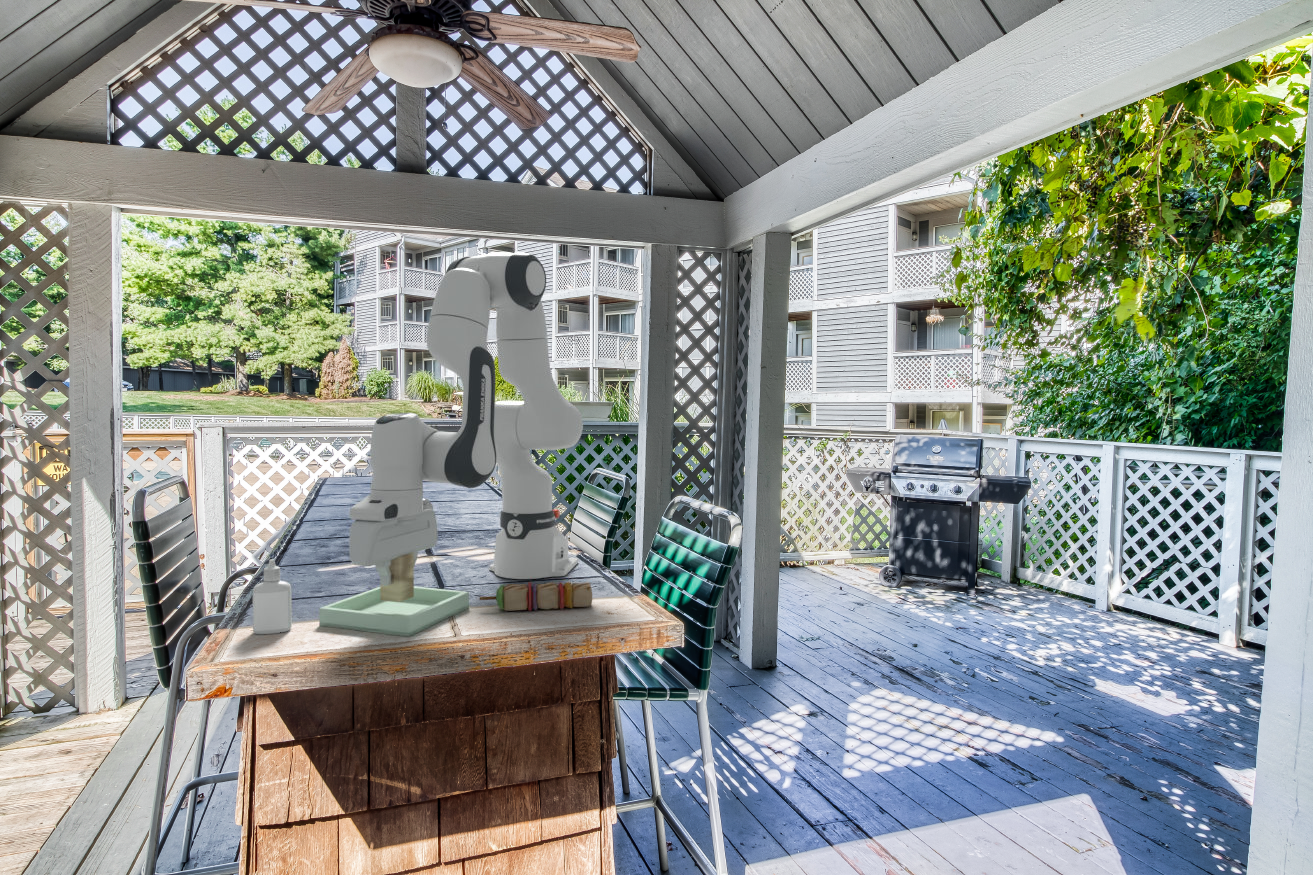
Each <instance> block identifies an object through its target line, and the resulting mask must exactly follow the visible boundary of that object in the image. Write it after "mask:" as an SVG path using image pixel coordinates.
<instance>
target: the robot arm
mask: <svg viewBox="0 0 1313 875" xmlns="http://www.w3.org/2000/svg"><path fill="white" fill-rule="evenodd" d="M546 285H547V274H546V270H545V267H544V266H543V263H542V262H541V261H540V260H539V258H538V257H537V256H536V255H534V254H531V253H527V252H521V251H516V252H514V253H513V252H490V253H488V254H479V255H475V256H463V257H461V258H457V259H455V260H453V261H452V262H451V263H450V264H449V265H448V267H447V269H446V271H445V274H444V275H443V276H442V279H441V281H440V283H439V285H438V288H437V291H436V293H435V296H434V299H433V303H432V306H431V311H430V316H429V321H428V326H427V330H426V348H427V349H428V352H429V353H430V355H431V356H432V358H433V359H434V360H435V361H436V363H437V364H439V365H440V366H441V367H443V368H444V369H447V370H449V371H450V372H453V373H454V374H455V375H457V376H458V377H459V378H460V380H461V383H462V390H463V391H462V413H461V414H462V416H461V426H460V428H459V429H458V431H443V430H438V429H436V428H434V427H432V426H430V425H429V424H426V423H425V422H424V421H423V420H422V419H421V418H420V416H419V414H417V413H414V412H399V413H389V414H386V415H383V416H380V417H379V418H377V419H376V420H375V421H374V424H373V427H372V432H371V438H370V453H369V454H370V455H369V456H370V467H371V470H372V480H371V483H370V494H368V495H367V496H365V497H364V498H363V499H362V500H360V501H359V502H357V503H356V504H354V505H353V506H351V507H350V508H349V519H351V520H354V521H353V522H352V523H351V526H350V530H349V538H348V539H349V544H348V545H349V546H348V547H349V550H348V551H349V558H350V561H351V563H352V564H353V565H354V566H357V567H358V566H360V567H371V566H374V565H375V569H376V570H377V572H378V575H379V576H380V577H379V578H380V579H379V584H380V583H381V585H385V586H388V585H390V584H393V583H394V574H391V573H390V570H389V567H388V566H390V565H391V560H392V559H395V558H398V557H400V556H403V555H406V554H410V553H414V566H415V565H416V562H417V559H418V555H419V554H418V553H419V552H422V551H424V550H428V549H431V548H435V547H436V546H437V542H438V540H439V539H438V537H439V536H438V523H437V517H436V516H437V515H436V513H435V511H434V506H433V504H432V502H431V501H429V499H428V498H424V483H423V482H424V481H425V482H432V483H436V484H437V483H438V484H439V483H440V484H450V485H454V486H459V487H463V488H468V489H474V488H478V487H480V486H481V485H483V484H484V483H485V482H486V481H488V480H489V478H490V477H491V475H493V472H494V471H495V468H496V466H497V467H498V471H499V475H500V479H501V480H500V481H501V497H502V498H501V499H502V510H501V511H500V516H499V521H500V522H499V523H500V524H499V525H500V528H501V530H500V531H499V532H498V533H497V534H496V536H495V545H494V546H495V547H494V557H493V563H492V564H490V565H489V570H490V571H492V572H494V574H495V575H496V576H497V577H500V578H505V579H515V580H533V579H534V580H535V579H542V578H550V577H564V576H566V575H568V573H570V572H571V570H572V569H573V568H575V566H576V565H577V564H578V563H579V559H578V558H576V557H573V556H569V540H568V539H567V537H566V536H564V534H563V533H562V532H561V531H560V530H559V529H558V528H557V527H556V524H557V523H556V522H557V521H556V519H558V518H560V512H561V511H560V510H559V509H552V508H553V479H552V476H551V475H550V473H549V472H548V471H547V470H546V469H544V468H543V467H541V466H539V465H538V464H536V462H535V460H534V459H533V456H532V455H531V450H536V451H556V450H563V449H569V448H572V447H574V446H575V445H576V444H577V443H578V442H579V440H580V439H581V436H582V434H583V429H584V422H583V417H582V415H581V412H580V411H579V410H578V408H577V407H576V406H575V405H574V404H572V403H571V401H570V402H569V400H568V399H566V397H565V396H564V395H563V393H561V391H560V389H559V387H558V386H557V384H556V382H555V380H554V377H553V374H552V370H551V364H550V356H549V354H550V353H549V345H548V344H549V342H548V340H549V339H548V329H547V321H546V320H547V319H546V316H545V310H544V306H543V302H542V298H543V296H544V294H545V292H546V287H547V286H546ZM491 309H495V311H496V321H495V323H496V324H495V325H496V326H495V327H496V328H495V331H496V332H495V333H496V336H495V337H496V349H497V350H496V351H497V362H498V364H497V366H498V371H499V374H500V376H501V377H502V379H503V380H505V381H506V382H507V383H509V384H511V385H512V386H514V387H515V388H516V389H517V390H518V391H519V393H520V395H521V398H522V400H497V401H496V365H495V360H494V358H493V355H492V354H491V353H490V352H489V350H488V344H487V343H488V339H487V338H488V330H489V324H490V314H491Z"/></svg>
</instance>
